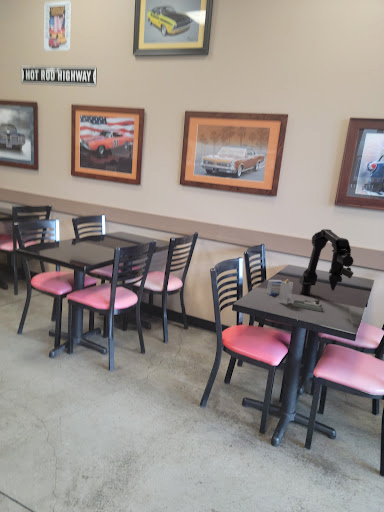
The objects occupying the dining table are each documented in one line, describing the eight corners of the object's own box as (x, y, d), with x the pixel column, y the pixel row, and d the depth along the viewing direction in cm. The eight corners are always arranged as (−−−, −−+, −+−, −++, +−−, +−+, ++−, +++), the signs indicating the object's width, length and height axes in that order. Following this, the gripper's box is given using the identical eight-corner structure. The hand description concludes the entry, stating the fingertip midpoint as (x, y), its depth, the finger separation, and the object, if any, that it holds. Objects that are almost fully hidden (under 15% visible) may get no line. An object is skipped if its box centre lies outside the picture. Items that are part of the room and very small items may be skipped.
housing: (282, 300, 213) (285, 277, 210) (290, 302, 210) (293, 279, 207) (278, 302, 209) (281, 279, 206) (286, 304, 206) (289, 281, 204)
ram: (304, 305, 208) (305, 296, 207) (319, 307, 206) (320, 299, 205) (303, 307, 205) (304, 298, 204) (318, 310, 202) (320, 301, 201)
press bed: (277, 296, 224) (278, 291, 223) (321, 304, 216) (322, 299, 215) (274, 305, 208) (274, 299, 207) (320, 314, 200) (321, 308, 199)
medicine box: (269, 295, 225) (271, 281, 223) (266, 292, 229) (268, 279, 227) (281, 295, 227) (283, 281, 226) (277, 292, 232) (279, 279, 230)
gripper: (355, 268, 185) (349, 298, 188) (352, 261, 202) (348, 288, 206) (331, 264, 189) (326, 294, 192) (331, 258, 206) (326, 285, 209)
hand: (332, 290), depth 200 cm, fingers closed
